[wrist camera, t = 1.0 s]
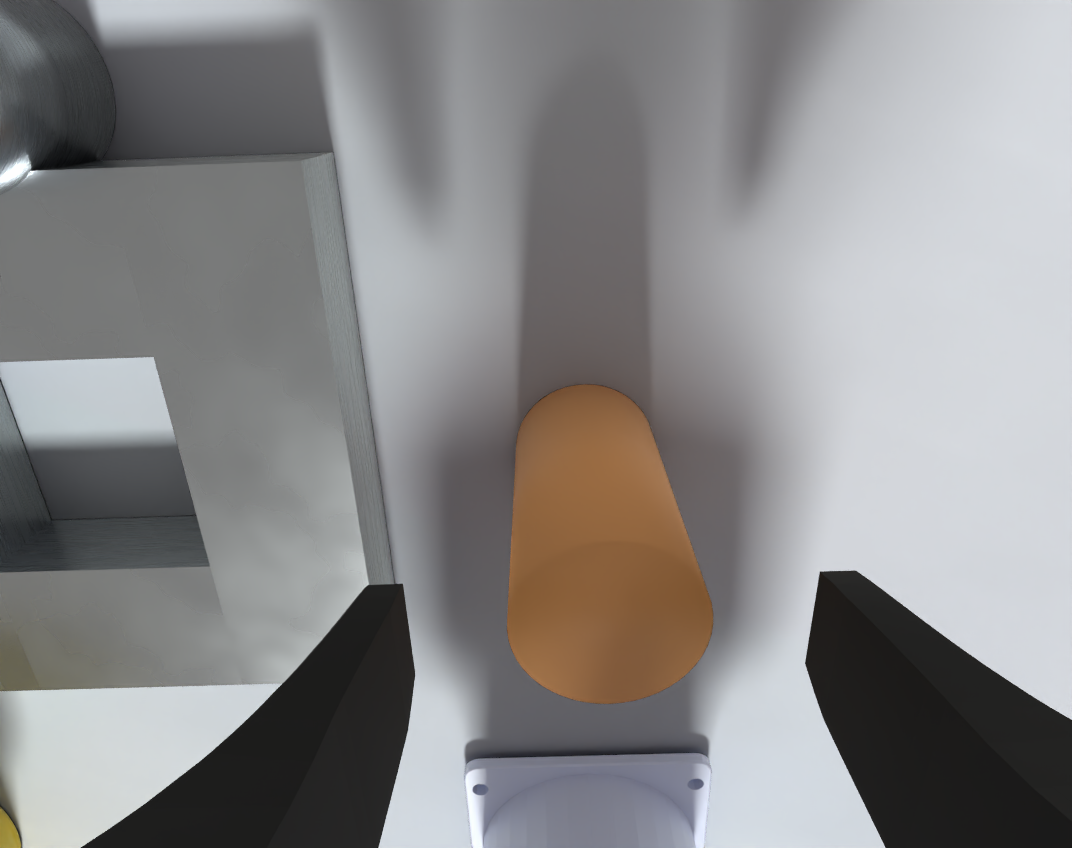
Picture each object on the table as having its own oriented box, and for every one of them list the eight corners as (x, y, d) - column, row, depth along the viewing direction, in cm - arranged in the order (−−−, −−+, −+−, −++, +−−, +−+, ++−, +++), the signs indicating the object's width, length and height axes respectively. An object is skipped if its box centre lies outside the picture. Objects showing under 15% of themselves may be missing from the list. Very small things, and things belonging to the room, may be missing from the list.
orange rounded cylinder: (650, 504, 20) (706, 701, 13) (519, 508, 20) (511, 706, 13) (655, 382, 18) (720, 536, 12) (512, 386, 18) (501, 543, 12)
